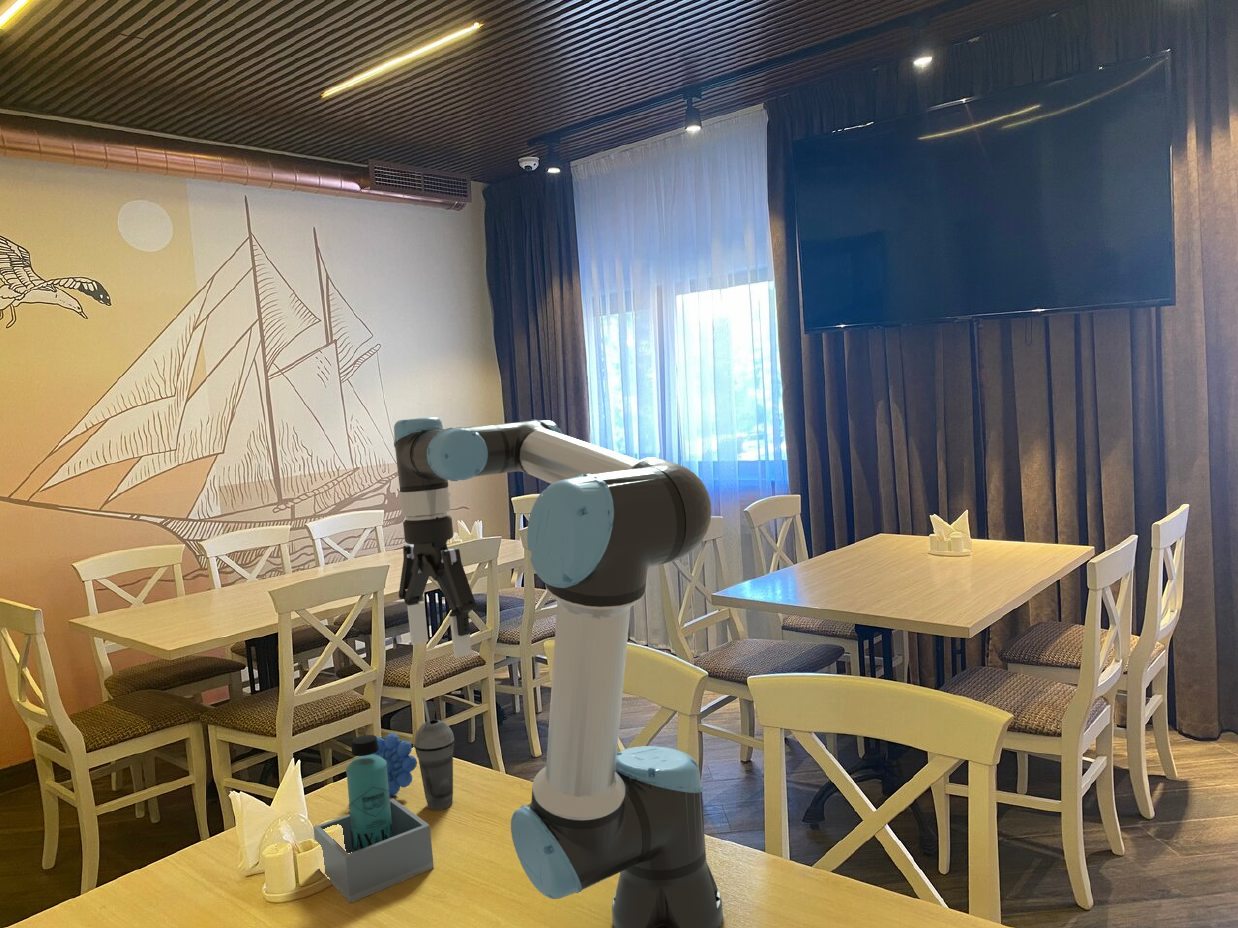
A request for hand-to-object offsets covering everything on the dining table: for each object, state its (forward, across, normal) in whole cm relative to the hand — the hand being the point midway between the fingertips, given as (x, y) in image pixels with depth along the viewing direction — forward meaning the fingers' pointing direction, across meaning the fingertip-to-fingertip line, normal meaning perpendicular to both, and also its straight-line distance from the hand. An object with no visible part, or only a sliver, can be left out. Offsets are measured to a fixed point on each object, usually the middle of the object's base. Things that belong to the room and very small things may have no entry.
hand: (440, 649), depth 143 cm
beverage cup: (+34, +19, -7) cm, 39 cm away
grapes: (+33, +30, -4) cm, 45 cm away
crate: (+34, +7, +12) cm, 36 cm away
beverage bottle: (+32, +7, +11) cm, 35 cm away
